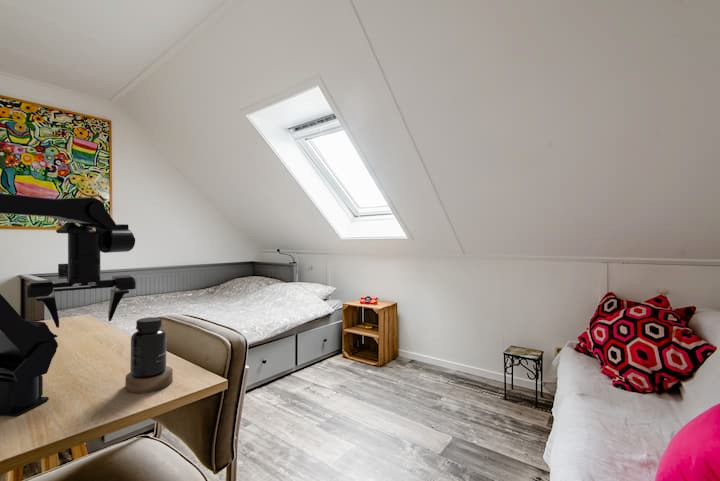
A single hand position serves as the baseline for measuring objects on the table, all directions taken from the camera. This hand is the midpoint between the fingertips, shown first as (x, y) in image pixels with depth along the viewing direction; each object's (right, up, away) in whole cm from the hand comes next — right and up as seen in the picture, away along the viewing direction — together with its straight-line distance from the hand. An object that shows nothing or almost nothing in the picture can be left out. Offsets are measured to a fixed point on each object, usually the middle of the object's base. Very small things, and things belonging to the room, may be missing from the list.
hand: (84, 323), depth 80 cm
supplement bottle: (+15, -11, -1) cm, 18 cm away
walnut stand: (+15, -13, 0) cm, 20 cm away
